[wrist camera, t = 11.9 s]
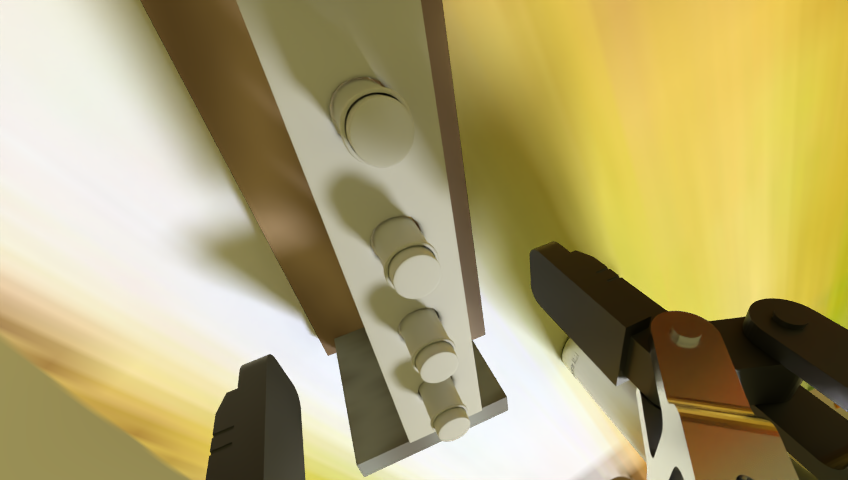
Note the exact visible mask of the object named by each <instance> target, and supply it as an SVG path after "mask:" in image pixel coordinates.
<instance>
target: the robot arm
mask: <svg viewBox="0 0 848 480" xmlns="http://www.w3.org/2000/svg"><path fill="white" fill-rule="evenodd" d="M530 274H531V289H532V292H533V295H534V297H535V299H536V301H537V302H538V304H539V305H540V306H541V307H542V308H543V309H544V310H545V311H546V313H547V314H548V315H549V316H550V317H551V318H552V319H553V320H554V321H555V322H556V323H557V324H558V325H559V326H560V327H561V329H562V330H563V331H564V332H565V333H566V334H567V335H568V336H569V337H570V338H569V339H568V341H567V343H566V344H565V347H564V349H563V353H562V360H563V362H564V364H565V365H566V367H567V368H568V369H569V370H570V371H571V373H572V374H573V376H574V377H575V378H576V379H577V380H578V381H579V382H580V383H581V385H582V386H583V387H584V388H585V389H586V391H587V392H588V393H589V394H590V396H591V397H592V398H593V399H594V400H595V402H596V403H597V404H598V405H599V406H600V408H601V409H602V410H603V411H604V412H605V414H606V415H607V416H608V417H609V418H610V420H611V421H612V422H613V423H614V424H615V426H616V427H617V428H618V429H619V430H620V432H621V433H622V434H623V435H624V436H625V438H626V439H627V440H628V441H629V442H630V444H631V445H632V446H633V447H634V448H635V450H636V451H637V452H638V453H639V454H640V456H641V457H642V458H643V459H644V460H645V461H646V463H647V480H848V420H847V419H845V418H844V417H843V416H841V415H840V414H839V413H837V412H836V411H835V410H833V409H832V408H830V407H829V406H828V405H826V404H825V403H824V402H822V401H821V400H820V399H818V398H817V397H815V396H814V395H813V394H812V393H810V392H809V391H807V390H806V389H805V388H803V387H802V386H801V385H800V384H801V383H802V381H803V380H804V381H805V382H807V383H808V384H809V385H811V386H812V387H814V388H815V389H817V390H818V391H819V392H821V393H822V394H823V395H825V396H826V397H827V398H829V399H830V400H832V401H833V402H834V403H836V404H837V405H838V406H840V407H841V408H843V409H844V410H846V411H847V412H848V330H847V329H846V328H844V327H842V326H840V325H839V324H837V323H835V322H833V321H832V320H830V319H828V318H827V317H825V316H823V315H821V314H820V313H818V312H816V311H814V310H812V309H811V308H809V307H807V306H804V305H802V304H799V303H796V302H793V301H788V300H783V299H762V300H759V301H756V302H754V303H753V304H752V305H751V306H750V308H749V310H748V312H747V315H746V317H740V318H732V319H724V320H716V321H707V320H705V319H704V318H702V317H700V316H697V315H695V314H692V313H688V312H682V311H667V310H665V309H664V308H662V307H661V306H660V305H658V304H657V303H655V302H654V301H653V300H651V299H650V298H649V297H647V296H646V295H645V294H643V293H642V292H640V291H639V290H638V289H636V288H635V287H634V286H632V285H631V284H630V283H628V282H627V281H626V280H624V279H623V278H619V276H618V275H617V274H616V273H615V272H613V271H612V270H611V269H608V268H607V267H606V266H605V265H604V264H602V263H601V262H600V261H598V260H597V259H596V258H594V257H592V256H590V255H587V254H584V253H581V252H578V251H573V252H571V253H570V252H569V251H568V250H566V249H565V248H564V247H563V246H561V245H560V244H559V243H557V242H551V243H548V244H546V245H543V246H541V247H538V248H536V249H533V250H531V252H530ZM213 436H214V437H213V438H212V442H211V448H210V452H211V455H210V456H209V461H208V468H207V474H206V480H305V468H304V452H303V436H302V421H301V407H300V401H299V397H298V394H297V391H296V389H295V387H294V385H293V384H292V382H291V381H290V379H289V378H288V376H287V375H286V373H285V372H284V371H283V369H282V368H281V366H280V365H279V363H278V362H277V360H276V359H275V358H274V356H273V355H271V354H269V355H267V356H264V357H262V358H259V359H257V360H254V361H252V362H249V363H247V364H244V365H242V366H241V368H240V372H239V381H238V389H235V390H233V391H230V392H228V393H226V395H225V397H224V399H223V401H222V403H221V405H220V407H219V409H218V411H217V413H216V416H215V422H214V429H213ZM787 452H788V453H789V454H791V455H792V456H793V457H794V458H795V459H796V460H797V461H799V463H801V464H802V465H803V466H804V467H805V468H806V469H807V470H808V471H809V472H808V471H807V470H805V469H804V468H802V467H801V466H800V465H799V464H797V463H796V462H795V461H794V460H793V459H791V458H790V457H789V455H788V453H787ZM810 472H811V473H810Z"/></svg>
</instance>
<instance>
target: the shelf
mask: <svg viewBox="0 0 848 480" xmlns="http://www.w3.org/2000/svg"><path fill="white" fill-rule="evenodd" d="M140 1H141V2H142V4H143V6H144V8H145V10H146V12H147V14H148V16H149V18H150V19H151V21H152V23H153V25H154V27H155V29H156V31H157V33H158V35H159V37H160V38H161V40H162V42H163V44H164V46H165V48H166V50H167V52H168V54H169V55H170V57H171V59H172V61H173V63H174V65H175V67H176V69H177V71H178V73H179V74H180V76H181V78H182V80H183V82H184V84H185V86H186V88H187V90H188V91H189V93H190V95H191V97H192V99H193V101H194V103H195V105H196V107H197V109H198V110H199V112H200V114H201V116H202V118H203V120H204V122H205V124H206V126H207V127H208V129H209V131H210V133H211V135H212V137H213V139H214V141H215V143H216V145H217V146H218V148H219V150H220V152H221V154H222V156H223V158H224V160H225V162H226V163H227V165H228V167H229V169H230V171H231V173H232V175H233V177H234V179H235V181H236V182H237V184H238V186H239V188H240V190H241V192H242V194H243V196H244V198H245V199H246V201H247V203H248V205H249V207H250V209H251V211H252V213H253V215H254V217H255V218H256V220H257V222H258V224H259V226H260V228H261V230H262V232H263V234H264V235H265V237H266V239H267V241H268V243H269V245H270V247H271V249H272V251H273V253H274V254H275V256H276V258H277V260H278V262H279V264H280V266H281V268H282V270H283V271H284V273H285V275H286V277H287V279H288V281H289V283H290V285H291V287H292V289H293V290H294V292H295V294H296V296H297V298H298V300H299V302H300V304H301V306H302V307H303V309H304V311H305V313H306V315H307V317H308V319H309V321H310V323H311V325H312V326H313V328H314V330H315V332H316V334H317V336H318V338H319V340H320V342H321V343H322V345H323V347H324V349H325V351H326V353H327V355H328V356H329V355H331V354H334V353H336V352H337V358H338V363H339V369H340V375H341V380H342V386H343V391H344V397H345V402H346V408H347V413H348V419H349V425H350V430H351V436H352V441H353V447H354V452H355V458H356V463H357V467H358V468H359V470H360V471H361V473H362V474H363V476H364V477H366V476H368V475H370V474H372V473H374V472H376V471H378V470H381V469H383V468H385V467H387V466H389V465H391V464H394V463H396V462H398V461H400V460H402V459H404V458H406V457H409V456H411V455H413V454H415V453H417V452H419V451H421V450H424V449H426V448H428V447H430V446H432V445H434V444H437V443H439V442H441V441H442V440H440V439H439V437H438V435H437V432H434V433H431V434H429V435H427V436H425V437H423V438H420V439H418V440H416V441H414V442H411V443H410V442H409V440H408V437H407V435H406V432H405V429H404V427H403V424H402V422H401V419H400V417H399V414H398V412H397V409H396V407H395V404H394V401H393V399H392V396H391V394H390V391H389V389H388V386H387V384H386V381H385V378H384V376H383V373H382V371H381V368H380V366H379V363H378V361H377V358H376V356H375V353H374V350H373V348H372V345H371V343H370V340H369V338H368V335H367V333H366V330H365V327H364V325H363V322H362V320H361V317H360V315H359V312H358V310H357V307H356V305H355V302H354V299H353V297H352V294H351V292H350V289H349V287H348V284H347V282H346V279H345V277H344V274H343V271H342V269H341V266H340V264H339V261H338V259H337V256H336V254H335V251H334V249H333V246H332V243H331V241H330V238H329V236H328V233H327V231H326V228H325V226H324V223H323V220H322V218H321V215H320V213H319V210H318V208H317V205H316V203H315V200H314V198H313V195H312V192H311V190H310V187H309V185H308V182H307V180H306V177H305V175H304V172H303V170H302V167H301V164H300V162H299V159H298V157H297V154H296V152H295V149H294V147H293V144H292V141H291V139H290V136H289V134H288V131H287V129H286V126H285V124H284V121H283V119H282V116H281V113H280V111H279V108H278V106H277V103H276V101H275V98H274V96H273V93H272V91H271V88H270V85H269V83H268V80H267V78H266V75H265V73H264V70H263V68H262V65H261V63H260V60H259V57H258V55H257V52H256V50H255V47H254V45H253V42H252V40H251V37H250V34H249V32H248V29H247V27H246V24H245V22H244V19H243V17H242V14H241V12H240V9H239V6H238V4H237V1H236V0H140ZM421 6H422V12H423V19H424V26H425V33H426V39H427V46H428V53H429V59H430V66H431V73H432V79H433V86H434V93H435V99H436V106H437V113H438V119H439V126H440V133H441V139H442V146H443V153H444V159H445V166H446V173H447V179H448V186H449V193H450V199H451V206H452V213H453V219H454V226H455V233H456V239H457V246H458V253H459V259H460V266H461V273H462V279H463V286H464V293H465V299H466V306H467V313H468V319H469V326H470V333H471V339H472V346H473V352H474V359H475V366H476V372H477V379H478V386H479V392H480V399H481V406H482V411H480V412H478V413H476V414H473V415H471V416H469V417H468V418H469V420H470V428H471V427H473V426H475V425H477V424H480V423H482V422H484V421H486V420H488V419H490V418H492V417H495V416H497V415H499V414H501V413H503V412H505V411H507V410H508V404H507V396H506V395H505V393H504V391H503V390H502V388H501V386H500V385H499V383H498V382H497V380H496V378H495V377H494V375H493V373H492V372H491V370H490V368H489V367H488V365H487V363H486V362H485V360H484V359H483V357H482V355H481V354H480V352H479V350H478V349H477V347H476V345H475V344H474V342H473V339H476V338H478V337H481V336H483V335H485V328H484V320H483V313H482V305H481V297H480V289H479V282H478V274H477V266H476V259H475V251H474V243H473V235H472V228H471V220H470V212H469V205H468V197H467V189H466V181H465V174H464V166H463V158H462V151H461V143H460V135H459V127H458V120H457V112H456V104H455V96H454V89H453V81H452V73H451V66H450V58H449V50H448V42H447V35H446V27H445V19H444V12H443V4H442V0H421ZM371 80H373V81H374V82H376V83H377V84H379V85H380V86H382V87H385V86H384V85H383V84H382V83H381V82H380V81H378V80H375V79H372V78H371ZM411 218H412V217H411ZM412 220H413V221H414V223H415V224H416V225H417V227H418V228H419V230H420V231H421V229H420V227H419V225H418V222H416V221H415V220H414V219H413V218H412ZM434 311H435V312H436V314H437V316H438V318H439V314H438V312H437V311H436V310H435V309H434ZM450 377H451V379H452V376H450ZM418 394H419V395H420V396H421V394H420V392H419V389H418Z"/></svg>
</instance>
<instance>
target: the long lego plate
mask: <svg viewBox="0 0 848 480" xmlns="http://www.w3.org/2000/svg"><path fill="white" fill-rule="evenodd" d="M236 1H237V4H238V6H239V9H240V12H241V14H242V17H243V19H244V22H245V24H246V27H247V29H248V32H249V34H250V37H251V40H252V42H253V45H254V47H255V50H256V52H257V55H258V57H259V60H260V63H261V65H262V68H263V70H264V73H265V75H266V78H267V80H268V83H269V85H270V88H271V91H272V93H273V96H274V98H275V101H276V103H277V106H278V108H279V111H280V113H281V116H282V119H283V121H284V124H285V126H286V129H287V131H288V134H289V136H290V139H291V141H292V144H293V147H294V149H295V152H296V154H297V157H298V159H299V162H300V164H301V167H302V170H303V172H304V175H305V177H306V180H307V182H308V185H309V187H310V190H311V192H312V195H313V198H314V200H315V203H316V205H317V208H318V210H319V213H320V215H321V218H322V220H323V223H324V226H325V228H326V231H327V233H328V236H329V238H330V241H331V243H332V246H333V249H334V251H335V254H336V256H337V259H338V261H339V264H340V266H341V269H342V271H343V274H344V277H345V279H346V282H347V284H348V287H349V289H350V292H351V294H352V297H353V299H354V302H355V305H356V307H357V310H358V312H359V315H360V317H361V320H362V322H363V325H364V327H365V330H366V333H367V335H368V338H369V340H370V343H371V345H372V348H373V350H374V353H375V356H376V358H377V361H378V363H379V366H380V368H381V371H382V373H383V376H384V378H385V381H386V384H387V386H388V389H389V391H390V394H391V396H392V399H393V401H394V404H395V407H396V409H397V412H398V414H399V417H400V419H401V422H402V424H403V427H404V429H405V432H406V435H407V437H408V440H409V442H410V443H411V442H414V441H416V440H418V439H420V438H423V437H425V436H427V435H429V434H431V433H434V432H437V435H438V437H439V439H440V440H442V441H446V442H448V441H453V440H456V439H458V438H460V437H461V436H463V435H464V434H465V433H466V432H467V431H468V429H469V428H470V420H469V418H468V417H469V416H471V415H473V414H476V413H478V412H480V411H482V406H481V399H480V392H479V386H478V379H477V372H476V366H475V359H474V352H473V346H472V339H471V333H470V326H469V319H468V313H467V306H466V299H465V293H464V286H463V279H462V273H461V266H460V259H459V253H458V246H457V239H456V233H455V226H454V219H453V213H452V206H451V199H450V193H449V186H448V179H447V173H446V166H445V159H444V153H443V146H442V139H441V133H440V126H439V119H438V113H437V106H436V99H435V93H434V86H433V79H432V73H431V66H430V59H429V53H428V46H427V39H426V33H425V26H424V19H423V12H422V6H421V0H236ZM371 78H372V79H375V80H378V81H380V82H381V83H382V84H383V85H384V86H385V87H382V86H380V85H379V84H377V83H376V82H374V81H373V80H371ZM411 217H412V218H413V219H414V220H415V221H416V222H418V225H419V227H420V229H421V231H420V230H419V228H418V227H417V225H416V224H415V223H414V221H413V220H412V218H411ZM434 309H435V310H436V311H437V312H438V314H439V318H438V316H437V314H436V312H435V311H434ZM450 376H452V379H451V377H450ZM418 389H419V392H420V394H421V396H420V395H419V394H418Z"/></svg>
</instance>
